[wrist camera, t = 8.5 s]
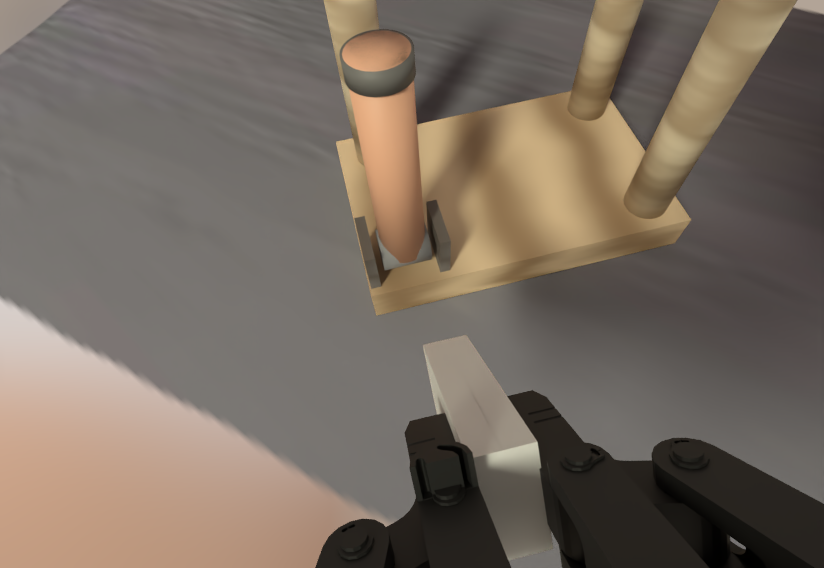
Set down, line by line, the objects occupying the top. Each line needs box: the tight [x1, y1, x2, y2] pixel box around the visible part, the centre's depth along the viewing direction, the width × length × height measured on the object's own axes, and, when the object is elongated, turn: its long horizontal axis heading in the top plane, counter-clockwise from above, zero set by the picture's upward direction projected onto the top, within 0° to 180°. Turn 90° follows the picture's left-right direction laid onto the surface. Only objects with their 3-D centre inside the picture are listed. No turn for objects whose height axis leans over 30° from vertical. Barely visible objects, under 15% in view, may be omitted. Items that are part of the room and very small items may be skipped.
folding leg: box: [339, 29, 432, 270], centre depth 24 cm, size 3×3×13 cm
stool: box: [324, 0, 797, 316], centre depth 28 cm, size 20×13×16 cm, turn 104°
